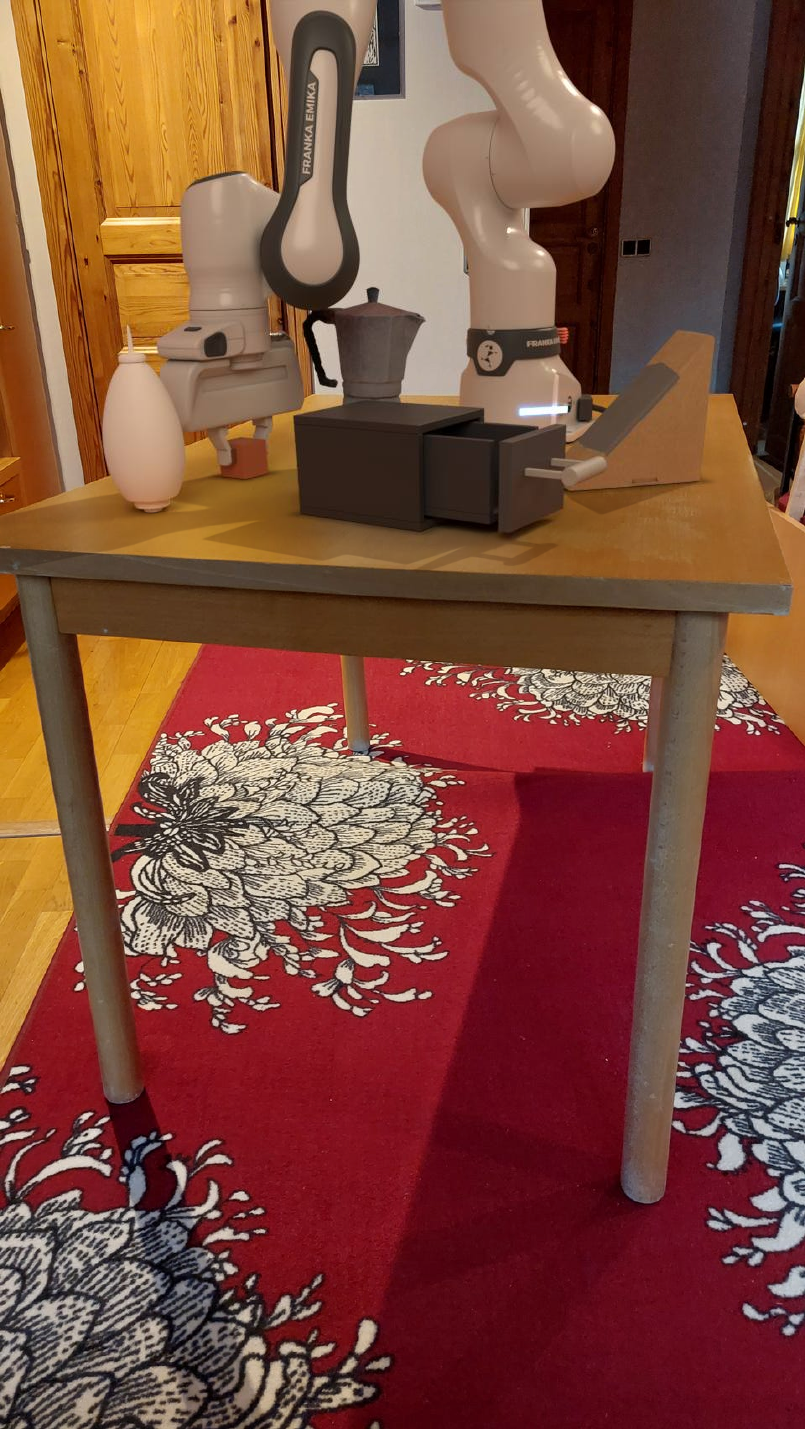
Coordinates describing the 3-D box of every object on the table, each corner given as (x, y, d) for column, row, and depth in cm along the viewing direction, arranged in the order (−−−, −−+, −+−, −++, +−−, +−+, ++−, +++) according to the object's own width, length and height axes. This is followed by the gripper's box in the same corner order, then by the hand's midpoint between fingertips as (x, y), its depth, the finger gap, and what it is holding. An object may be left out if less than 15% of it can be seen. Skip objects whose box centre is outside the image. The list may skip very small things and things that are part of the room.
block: (244, 470, 120) (241, 437, 118) (268, 473, 118) (265, 439, 116) (221, 476, 117) (217, 442, 115) (245, 479, 115) (242, 444, 113)
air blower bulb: (100, 518, 100) (69, 328, 92) (138, 500, 106) (112, 322, 99) (169, 521, 98) (143, 327, 90) (204, 503, 104) (183, 321, 97)
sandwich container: (541, 476, 112) (545, 335, 105) (666, 466, 114) (677, 329, 108) (567, 491, 104) (574, 341, 98) (701, 481, 107) (715, 334, 100)
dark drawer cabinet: (483, 506, 99) (484, 408, 95) (420, 531, 91) (417, 425, 87) (368, 491, 107) (364, 400, 103) (300, 513, 99) (292, 415, 95)
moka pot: (421, 468, 118) (417, 287, 109) (298, 467, 121) (285, 290, 112) (435, 453, 126) (432, 284, 117) (319, 452, 129) (309, 287, 120)
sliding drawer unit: (614, 514, 91) (619, 428, 88) (563, 540, 83) (567, 447, 80) (444, 493, 101) (443, 415, 98) (385, 515, 93) (382, 431, 90)
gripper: (272, 329, 120) (281, 444, 126) (144, 343, 105) (161, 473, 111) (312, 329, 117) (319, 448, 122) (185, 344, 102) (201, 479, 107)
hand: (243, 460), depth 117 cm, fingers closed on block, 4 cm apart
